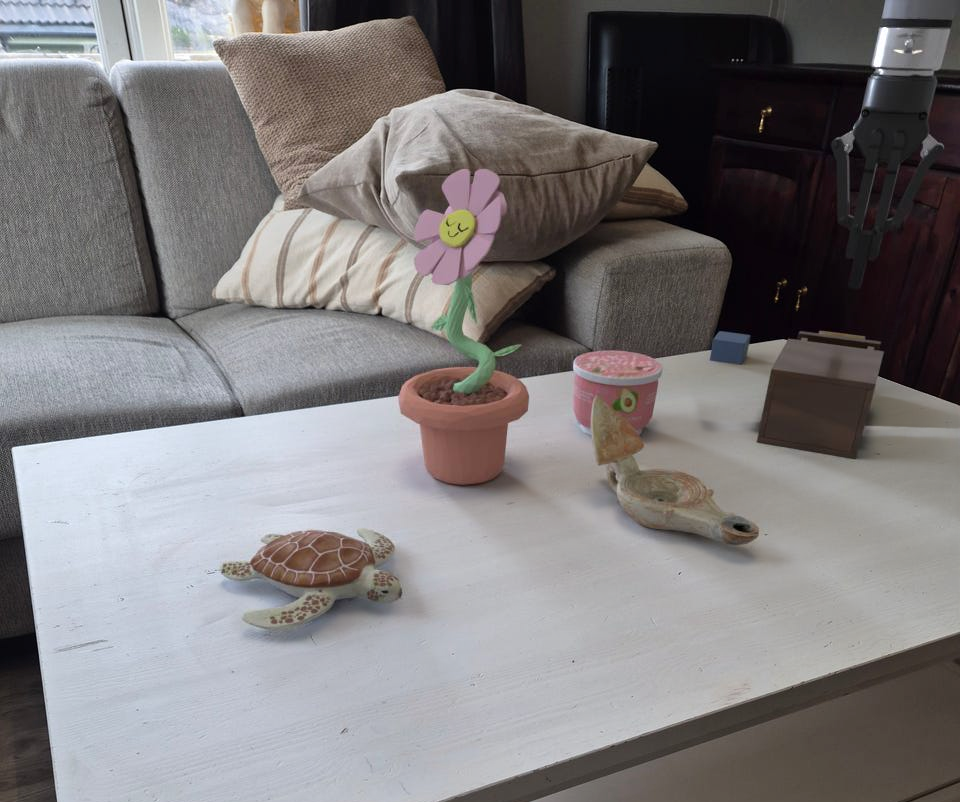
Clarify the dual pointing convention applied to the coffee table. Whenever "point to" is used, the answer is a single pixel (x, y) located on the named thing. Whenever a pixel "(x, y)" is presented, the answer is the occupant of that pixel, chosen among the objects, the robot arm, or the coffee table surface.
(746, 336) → the block
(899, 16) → the robot arm
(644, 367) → the container
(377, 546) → the decorative turtle
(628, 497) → the oil lamp
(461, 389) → the decorative flower
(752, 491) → the coffee table surface
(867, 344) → the drawer
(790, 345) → the cabinet
